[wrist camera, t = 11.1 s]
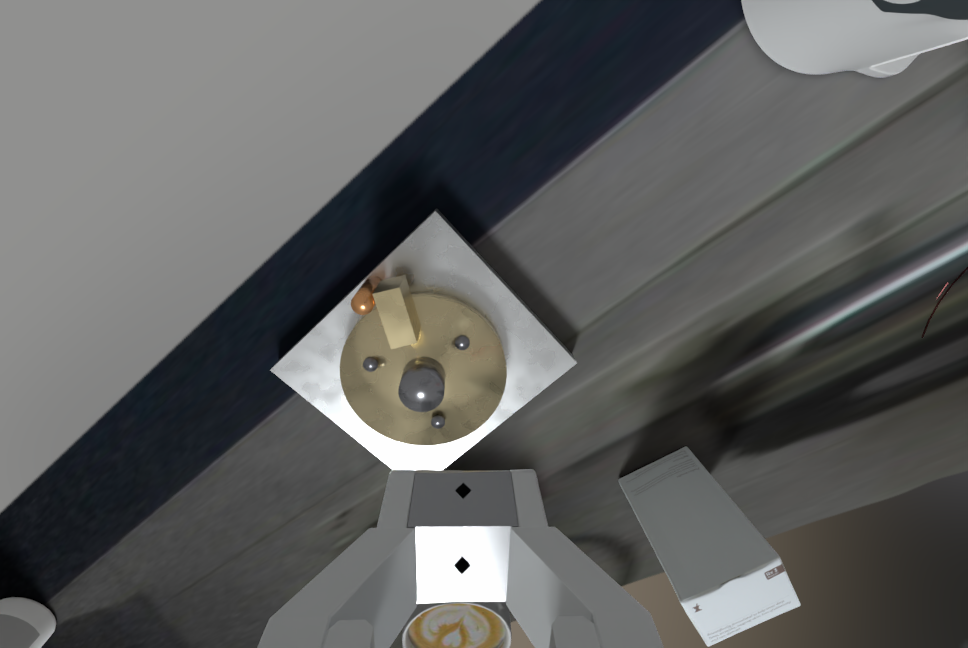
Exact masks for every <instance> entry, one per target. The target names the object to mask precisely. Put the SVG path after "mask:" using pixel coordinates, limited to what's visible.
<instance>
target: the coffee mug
mask: <svg viewBox="0 0 968 648" xmlns="http://www.w3.org/2000/svg"><path fill="white" fill-rule="evenodd" d="M510 644H511V625H510V614H509V608H508V607H507V605H506V602H469V601H459V602H437V603H417V607H416V609H415V610H414V612H413V613H412V615H411V616H410V618H409V619H408V621H407V622H406V624H405V625H404V627H403V632H402V646H403V648H510Z"/></svg>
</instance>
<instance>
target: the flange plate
mask: <svg viewBox="0 0 968 648" xmlns="http://www.w3.org/2000/svg"><path fill="white" fill-rule="evenodd" d="M372 295H373V298H374V301H375V304H376V305H375V306H374V307H373V309H372V311H371V312H370V313H369V314H366V315H363V316H362V317H361V318H360V320H359V321H358V322H357V323H356V325H355V326H354V328H353V330H352V331H351V333H350V334H349V336H348V338H347V340H346V342H345V345H344V347H343V350H342V354H341V359H340V380H341V385H342V389H343V392H344V395H345V397H346V399H347V401H348V403H349V405H350V406H351V408H352V409H353V411H354V412H355V413H356V415H357V416H358V417H359V418H360V419H361V420H362V421H363V422H364V423H365V424H366V425H367V426H369V427H370V428H371V429H373V430H374V431H376V432H377V433H379V434H381V435H383V436H385V437H387V438H389V439H392V440H394V441H397V442H401V443H405V444H411V445H420V446H430V445H440V444H446V443H449V442H453V441H456V440H458V439H461V438H463V437H465V436H467V435H469V434H471V433H472V432H474V431H475V430H477V429H478V428H479V427H481V426H482V425H483V424H484V423H485V422H486V421H487V420H488V419H489V418H490V417H491V415H492V414H493V413H494V412H495V410H496V408H497V407H498V405H499V403H500V401H501V399H502V396H503V393H504V390H505V386H506V378H507V367H506V361H505V355H504V350H503V347H502V344H501V341H500V339H499V337H498V334H497V332H496V331H495V329H494V328H493V326H492V325H491V323H490V322H489V321H488V320H487V319H486V318H485V316H484V315H483V314H481V313H480V312H479V311H478V310H477V309H476V308H474V307H472V306H471V305H469V304H468V303H466V302H464V301H462V300H460V299H458V298H456V297H453V296H450V295H447V294H442V293H438V292H429V291H416V292H410V288H409V285H408V282H407V279H406V275H402V276H398V277H394V278H389V279H385V280H381V281H380V282H379V284H378V285H377V287H376V289H375V290H374V292H373V294H372Z"/></svg>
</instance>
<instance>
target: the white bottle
mask: <svg viewBox="0 0 968 648" xmlns="http://www.w3.org/2000/svg"><path fill="white" fill-rule="evenodd" d="M55 627H56V620H55V616H54V615H53V614H52V612H51V611H50V610H49V609H48V608H46V607H45V606H44V605H43V604H40V603H38V602H36V601H34V600H31V599H27V598H23V597H10V598H4V599H2V600H0V648H41V647H42V646H43V644H44V643H45V642H46V641H47V640H48V638H49V637H50V636H51V635H52V634H53V632H54V630H55Z"/></svg>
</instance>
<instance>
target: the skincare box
mask: <svg viewBox="0 0 968 648" xmlns="http://www.w3.org/2000/svg"><path fill="white" fill-rule="evenodd" d="M618 481H619V484H620V486H621V488H622V490H623V491H624V493H625V495H626V497H627V499H628V501H629V503H630V505H631V507H632V508H633V510H634V512H635V514H636V516H637V518H638V520H639V522H640V524H641V526H642V528H643V530H644V532H645V534H646V536H647V538H648V539H649V541H650V543H651V545H652V547H653V549H654V551H655V553H656V555H657V557H658V559H659V561H660V563H661V565H662V567H663V569H664V570H665V572H666V574H667V576H668V578H669V580H670V582H671V584H672V586H673V588H674V590H675V592H676V594H677V596H678V598H679V601H680V603H681V605H682V606H683V608H684V610H685V612H686V613H687V615H688V617H689V618H690V620H691V621H692V623H693V625H694V626H695V628H696V629H697V631H698V632H699V634H700V636H701V637H702V639H703V640H704V642H705V643H706V645H707V646H711V645H713V644H715V643H718V642H720V641H722V640H724V639H726V638H728V637H731V636H733V635H735V634H737V633H739V632H741V631H743V630H746V629H748V628H750V627H753V626H755V625H757V624H759V623H761V622H763V621H766V620H768V619H771V618H772V617H775V616H777V615H780V614H782V613H784V612H787V611H789V610H791V609H794V608H796V607H799V606H800V602H799V600H798V597H797V595H796V593H795V591H794V589H793V587H792V584H791V582H790V580H789V577H788V575H787V573H786V570H785V568H784V565H783V563H782V561H781V558H780V556H779V555H778V554H777V553H776V551H774V549H773V548H772V547H771V546H770V545H769V543H768V542H767V541H766V540H765V538H764V537H763V536H762V535H761V534H760V533H759V531H758V530H757V529H756V528H755V527H754V525H753V524H752V523H751V522H750V521H749V520H748V518H747V517H746V516H745V515H744V514H743V512H742V511H741V510H740V509H739V508H738V506H737V505H736V504H735V503H734V502H733V500H732V499H731V498H730V497H729V496H728V495H727V493H726V492H725V491H724V490H723V489H722V487H721V486H720V485H719V484H718V483H717V481H716V480H715V479H714V478H713V477H712V476H711V474H710V473H709V472H708V471H707V470H706V468H705V467H704V466H703V465H702V464H701V462H700V461H699V460H698V459H697V458H696V457H695V455H694V454H693V453H692V452H691V451H690V449H689V448H688V447H687V446H685V447H683V448H681V449H679V450H677V451H675V452H673V453H671V454H669V455H667V456H665V457H663V458H661V459H659V460H657V461H655V462H653V463H651V464H649V465H647V466H645V467H642V468H640V469H638V470H636V471H634V472H632V473H630V474H628V475H626V476H624V477H622V478H620V479H618Z"/></svg>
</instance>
